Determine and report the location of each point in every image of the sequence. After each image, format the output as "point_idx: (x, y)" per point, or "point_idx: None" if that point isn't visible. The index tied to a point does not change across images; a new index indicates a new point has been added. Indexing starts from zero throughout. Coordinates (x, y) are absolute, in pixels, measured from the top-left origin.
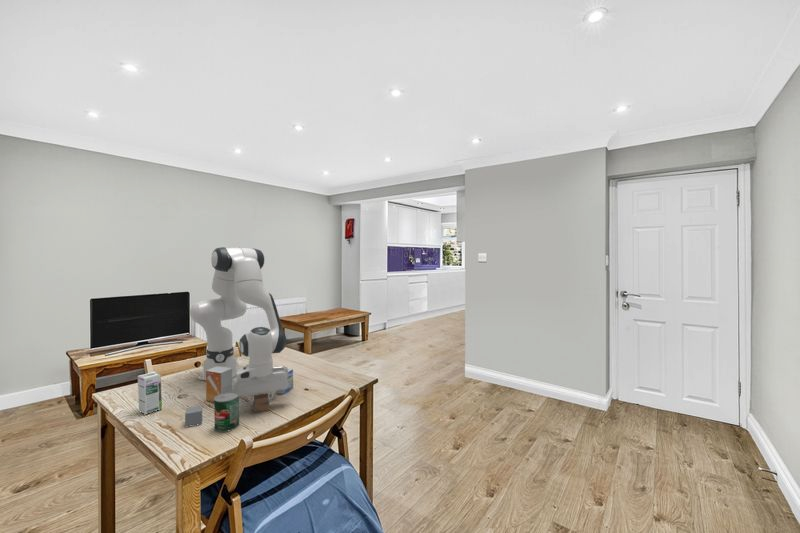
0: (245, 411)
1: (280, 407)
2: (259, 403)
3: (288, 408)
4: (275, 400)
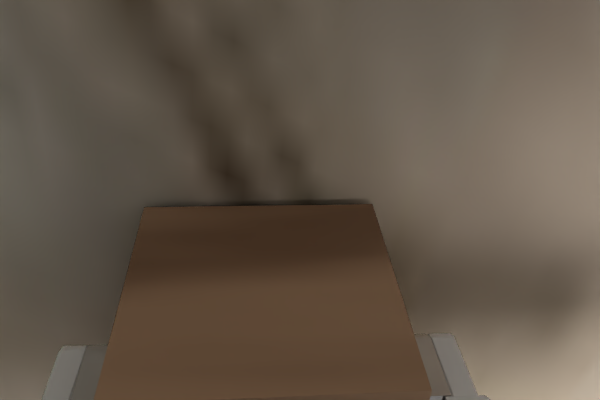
0: (16, 274)
1: (518, 326)
2: None
3: (588, 377)
4: (565, 55)
